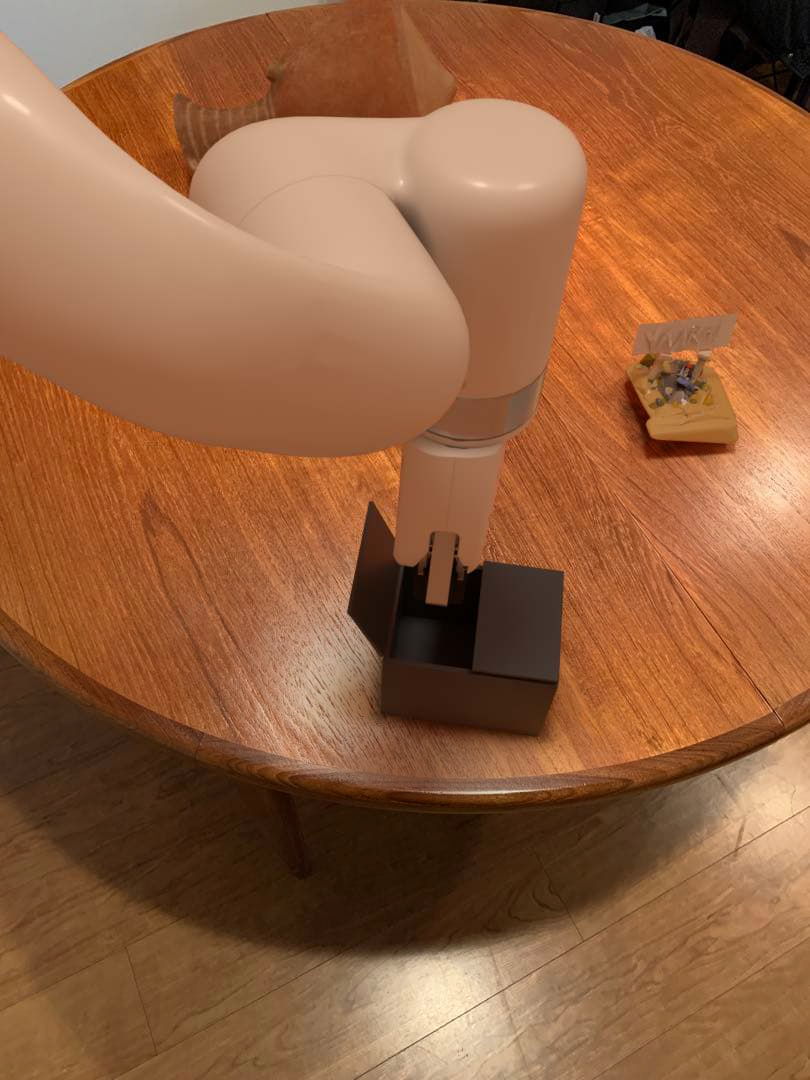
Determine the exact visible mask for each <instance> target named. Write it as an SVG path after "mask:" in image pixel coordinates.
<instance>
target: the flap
mask: <svg viewBox="0 0 810 1080" xmlns="http://www.w3.org/2000/svg"><path fill="white" fill-rule="evenodd" d="M363 524H364V525H363V529H362V534H361V540H360V544H359V549H358V554H357V559H356V565H355V569H354V573H353V574H354V575H353V580H352V585H351V589H350V593H349V594H350V595H349V598H348V603H347V609H346V613H347V614H348V616H349V618H351V620H352V621H353V623H354V624H355V626H357V628H358V630H359V631H360V632H361V633H362V635H363V636H364V638H365V639H366V640H367V642H368V643H369V644H370V646H371V647H372V648H373V649H374V651H375V652H376V653H377V655H378V657H380V658H383V657H384V653H385V647H386V641H387V635H388V630H389V624H390V618H391V612H392V606H393V600H394V594H395V588H396V582H397V576H398V570H399V564H398V562H397V561H396V560H395V558H394V556H393V552H394V542H395V534H393V532H392V531H391V528H390V527H389V526H388V524H387V522H386V520H385V519H384V517H383V516H382V513H381V512H380V510H379V509H378V507H377V506H376V504H375V502H374V501H373V500H369V501H368V504H367V510H366V515H365V519H364V523H363Z"/></svg>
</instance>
